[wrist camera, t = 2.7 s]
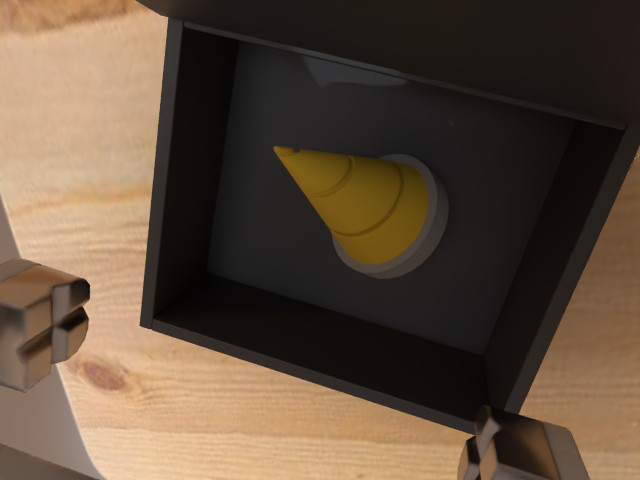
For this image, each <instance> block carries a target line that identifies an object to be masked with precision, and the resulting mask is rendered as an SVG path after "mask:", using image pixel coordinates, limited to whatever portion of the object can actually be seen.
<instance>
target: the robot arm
mask: <svg viewBox="0 0 640 480" xmlns="http://www.w3.org/2000/svg"><path fill="white" fill-rule="evenodd" d="M89 300H90V285H89V283H88V282H87V281H86V280H85V279H83V278H80V277H77V276H74V275H71V274H68V273H65V272H62V271H59V270H56V269H53V268H50V267H47V266H44V265H41V264H39V263H35V262H32V261H29V260H25V259H19V258H14V259H12V260H9V261H7V262H5V263H2V264H0V385H1V386H5V387H8V388H11V389H14V390H17V391H20V392H24V393H26V392H27V391H28V390H29V389H31V388H32V387H33V386H35V385H36V384H37V383H38V382H40V381H41V380H42V379H44V378H45V377H46V376H47V375H49V374H50V373H51V365H52V364H55V363H59V362H62V361H66V360H68V359H69V358H70V357H71V356H73V355H74V354H75V353H76V352H77V351H78V349H79V348H80V346H81V345H82V343H83V342H84V340H85V337H86V334H87V331H88V322H89V318H88V316H87V314H86V312H85V310H84V308H83V306H84V305H85V304H86V303H87V302H88V301H89ZM474 424H475V433H476V435H475V436H473V437H472V438H470V439H468V440H466V443H465V446H464V448H463V451H462V454H461V457H460V462H459V467H458V475H457V480H590V478H589V475H588V473H587V470H586V468H585V465H584V463H583V460H582V458H581V455H580V453H579V450H578V448H577V445H576V443H575V441H574V438H573V436H572V433H571V432H570V431H569V430H568V429H567V428H565V427H562V426H558V425H554V424H551V423H547V422H544V421H540V420H535V419H532V418H528V417H525V416H521V415H518V414H515V413H511V412H508V411H504V410H501V409H497V408H494V407H490V406H487V405H483V406H482V407H481V408H480V410H479V412H478V414H477V416H476V419H475V421H474ZM0 480H99V479H96V478H93V477H90V476H88V475H85V474H82V473H79V472H77V471H74V470H71V469H69V468H66V467H63V466H60V465H58V464H55V463H52V462H49V461H47V460H44V459H41V458H39V457H36V456H33V455H30V454H28V453H25V452H22V451H20V450H17V449H14V448H11V447H8V446H6V445H3V444H0Z"/></svg>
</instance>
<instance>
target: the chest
mask: <svg viewBox="0 0 640 480" xmlns="http://www.w3.org/2000/svg"><path fill="white" fill-rule="evenodd" d="M274 146H282V147H290V148H294V150H295V152H297V153H298V152H299V151H300V150H301V149H305V150H313V151H321V152H328V153H336V154H344V155H351V156H359V157H367V158H374V159H377V158H380V157H382V156H386V155H391V154H405V155H409V156H413V157H415V158H416V159H418V160H420V161H422V162H423V163H424V164H425V165H426V166H428V167H429V168H430V169H431V170H433V171H434V172H435V173H436V174H437V175H438V176H439V177H440V179H441V181H442V182H443V184H444V186H445V189H446V192H447V195H448V204H449V211H448V220H447V224H446V227H445V230H444V233H443V235H442V237H441V239H440V241H439V243H438V245H437V246H436V248H435V249H434V251H433V252H432V253H431V255H430V256H429V257H428V258H427V259H426V260H425V261H424V262H423V263H422V264H421V265H419V266H418V267H416V268H415V269H414V270H412V271H411V272H408V273H406V274H404V275H402V276H399V277H395V278H390V279H378V278H374V277H370V276H368V275H365V274H363V273H361V272H358V271H356V270H354V269H353V268H351V267H349V266H348V265H346V264H345V263H344V262H343V261H342V260H341V258H340V257H339V255H338V254H337V252H336V249H335V247H334V244H333V239H332V232H331V231H330V229H329V228H328V227H327V225H326V224H325V222H324V221H323V219H322V218H321V217H320V215H319V214H318V212H317V211H316V210H315V208H314V207H313V205H312V204H311V202H310V201H309V200H308V198H307V197H306V195H305V194H304V193H303V191H302V190H301V188H300V187H299V185H298V184H297V183H296V181H295V180H294V178H293V177H292V176H291V174H290V173H289V171H288V170H287V168H286V167H285V166H284V164H283V163H282V161H281V160H280V159H279V157H278V156H277V154H276V153H275V151H274ZM639 146H640V127H639V126H634V125H630V124H626V123H621V122H617V121H613V120H608V119H604V118H600V117H596V116H591V115H587V114H583V113H578V112H574V111H570V110H565V109H561V108H557V107H553V106H548V105H544V104H540V103H535V102H531V101H527V100H522V99H518V98H514V97H510V96H505V95H501V94H497V93H492V92H488V91H484V90H479V89H475V88H471V87H467V86H462V85H458V84H454V83H449V82H445V81H441V80H436V79H432V78H428V77H424V76H419V75H415V74H411V73H406V72H402V71H398V70H393V69H389V68H385V67H381V66H376V65H372V64H368V63H363V62H359V61H355V60H350V59H346V58H342V57H338V56H333V55H329V54H325V53H320V52H316V51H312V50H307V49H303V48H299V47H295V46H290V45H286V44H282V43H277V42H273V41H269V40H264V39H260V38H256V37H252V36H247V35H243V34H239V33H234V32H230V31H226V30H221V29H217V28H213V27H209V26H204V25H200V24H196V23H191V22H187V21H183V20H178V19H174V18H170V17H168V28H167V38H166V49H165V60H164V71H163V81H162V92H161V103H160V113H159V124H158V135H157V146H156V156H155V167H154V178H153V188H152V199H151V210H150V221H149V231H148V242H147V253H146V263H145V274H144V285H143V296H142V306H141V317H140V326H141V327H144V328H147V329H152V330H153V331H156V332H159V333H162V334H165V335H168V336H171V337H174V338H178V339H181V340H184V341H187V342H190V343H193V344H196V345H199V346H202V347H205V348H208V349H211V350H214V351H217V352H220V353H224V354H227V355H230V356H233V357H236V358H239V359H242V360H245V361H248V362H251V363H254V364H257V365H260V366H263V367H266V368H270V369H273V370H276V371H279V372H282V373H285V374H288V375H291V376H294V377H297V378H300V379H303V380H306V381H309V382H313V383H316V384H319V385H322V386H325V387H328V388H331V389H334V390H337V391H340V392H343V393H346V394H349V395H352V396H355V397H359V398H362V399H365V400H368V401H371V402H374V403H377V404H380V405H383V406H386V407H389V408H392V409H395V410H398V411H402V412H405V413H408V414H411V415H414V416H417V417H420V418H423V419H426V420H429V421H432V422H435V423H438V424H441V425H444V426H448V427H451V428H454V429H457V430H460V431H463V432H466V433H469V434H472V435H476V433H475V424H474V421H475V419H476V416H477V414H478V412H479V410H480V408H481V407H482V406H483V405H487V406H490V407H494V408H497V409H501V410H504V411H508V412H511V413H515V414H519V412H520V409H521V407H522V405H523V403H524V401H525V398H526V396H527V394H528V392H529V390H530V387H531V385H532V383H533V381H534V378H535V376H536V374H537V372H538V370H539V367H540V365H541V363H542V361H543V359H544V356H545V354H546V352H547V350H548V348H549V345H550V343H551V341H552V339H553V336H554V334H555V332H556V330H557V328H558V325H559V323H560V321H561V319H562V317H563V314H564V312H565V310H566V308H567V306H568V303H569V301H570V299H571V297H572V294H573V292H574V290H575V288H576V286H577V283H578V281H579V279H580V277H581V275H582V272H583V270H584V268H585V266H586V263H587V261H588V259H589V257H590V255H591V252H592V250H593V248H594V246H595V244H596V241H597V239H598V237H599V235H600V233H601V230H602V228H603V226H604V224H605V221H606V219H607V217H608V215H609V213H610V210H611V208H612V206H613V204H614V202H615V199H616V197H617V195H618V193H619V191H620V188H621V186H622V184H623V182H624V179H625V177H626V175H627V173H628V171H629V168H630V166H631V164H632V162H633V160H634V157H635V155H636V153H637V151H638V148H639Z"/></svg>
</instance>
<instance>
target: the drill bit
mask: <svg viewBox="0 0 640 480" xmlns="http://www.w3.org/2000/svg"><path fill="white" fill-rule="evenodd" d="M274 151H275V153H276V154H277V156H278V157H279V159H280V160H281V161H282V163H283V164H284V166H285V167H286V168H287V170H288V171H289V173H290V174H291V176H292V177H293V178H294V180H295V181H296V183H297V184H298V185H299V187H300V188H301V190H302V191H303V193H304V194H305V195H306V197H307V198H308V200H309V201H310V202H311V204H312V205H313V207H314V208H315V210H316V211H317V212H318V214H319V215H320V217H321V218H322V219H323V221H324V222H325V224H326V225H327V227H328V228H329V229H330V231H331V232H332V239H333V244H334V247H335V249H336V252H337V254H338V255H339V257H340V258H341V260H342V261H343V262H344V263H345V264H346V265H348V266H349V267H351V268H353V269H354V270H356V271H358V272H361V273H363V274H365V275H368V276H370V277H374V278H378V279H390V278H395V277H399V276H402V275H404V274H406V273H408V272H411V271H412V270H414V269H415V268H416V267H418V266H419V265H421V264H422V263H423V262H424V261H425V260H426V259H427V258H428V257H429V256H430V255H431V253H432V252H433V251H434V249H435V248H436V246H437V245H438V243H439V241H440V239H441V237H442V235H443V233H444V230H445V227H446V224H447V220H448V211H449V204H448V195H447V192H446V189H445V186H444V184H443V182H442V181H441V179H440V177H439V176H438V175H437V174H436V173H435V172H434V171H433V170H431V169H430V168H429V167H428V166H426V165H425V164H424V163H423V162H422V161H420V160H418V159H416V158H415V157H413V156H409V155H405V154H391V155H386V156H382V157H380V158H377V159H374V158H367V157H359V156H351V155H344V154H336V153H328V152H321V151H313V150H305V149H301V150H300V151H299V152H298V153H297V152H295V150H294V148H290V147H282V146H274Z"/></svg>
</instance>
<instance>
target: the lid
mask: <svg viewBox="0 0 640 480" xmlns="http://www.w3.org/2000/svg"><path fill="white" fill-rule="evenodd" d="M136 1H138V2H139V3H141V4H143V5H144V6H146V7H148V8H149V9H151V10H153V11H154V12H156V13H158V14H159V15H161V16H166V17H170V18H174V19H178V20H183V21H187V22H191V23H196V24H200V25H204V26H209V27H213V28H217V29H221V30H226V31H230V32H234V33H239V34H243V35H247V36H252V37H256V38H260V39H264V40H269V41H273V42H277V43H282V44H286V45H290V46H295V47H299V48H303V49H307V50H312V51H316V52H320V53H325V54H329V55H333V56H338V57H342V58H346V59H350V60H355V61H359V62H363V63H368V64H372V65H376V66H381V67H385V68H389V69H393V70H398V71H402V72H406V73H411V74H415V75H419V76H424V77H428V78H432V79H436V80H441V81H445V82H449V83H454V84H458V85H462V86H467V87H471V88H475V89H479V90H484V91H488V92H492V93H497V94H501V95H505V96H510V97H514V98H518V99H522V100H527V101H531V102H535V103H540V104H544V105H548V106H553V107H557V108H561V109H565V110H570V111H574V112H578V113H583V114H587V115H591V116H596V117H600V118H604V119H608V120H613V121H617V122H621V123H626V124H630V125H634V126H639V127H640V0H136Z"/></svg>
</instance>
